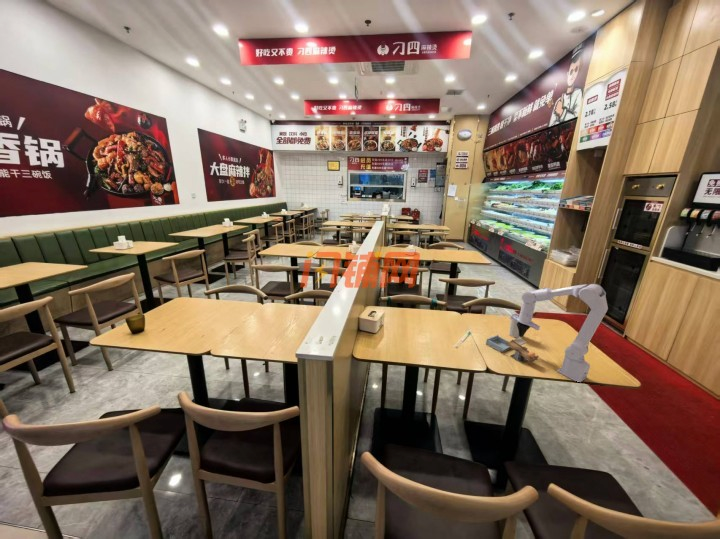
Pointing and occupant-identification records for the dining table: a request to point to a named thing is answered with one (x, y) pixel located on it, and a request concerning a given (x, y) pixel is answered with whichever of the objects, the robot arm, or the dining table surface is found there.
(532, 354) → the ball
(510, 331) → the cup
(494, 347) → the tray
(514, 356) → the stand
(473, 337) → the dining table surface
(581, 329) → the robot arm
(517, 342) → the seesaw
